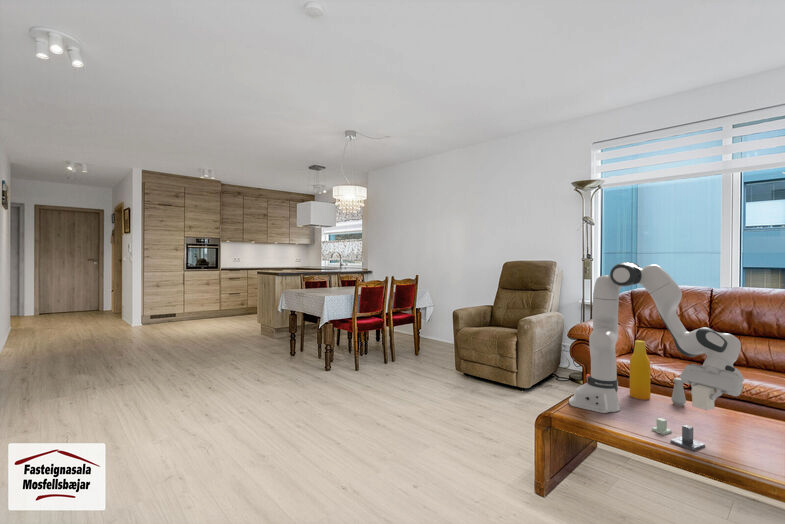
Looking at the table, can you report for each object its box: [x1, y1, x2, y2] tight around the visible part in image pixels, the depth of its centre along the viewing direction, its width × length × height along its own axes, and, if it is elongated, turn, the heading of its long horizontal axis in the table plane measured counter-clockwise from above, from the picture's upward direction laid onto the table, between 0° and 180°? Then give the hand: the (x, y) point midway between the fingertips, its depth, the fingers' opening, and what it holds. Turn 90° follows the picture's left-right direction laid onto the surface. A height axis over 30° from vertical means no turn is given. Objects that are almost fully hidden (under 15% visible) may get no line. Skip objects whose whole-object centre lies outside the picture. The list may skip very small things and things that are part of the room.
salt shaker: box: [671, 377, 687, 407], centre depth 196 cm, size 6×6×13 cm
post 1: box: [651, 417, 672, 436], centre depth 167 cm, size 5×5×5 cm
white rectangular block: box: [691, 384, 715, 411], centre depth 160 cm, size 5×5×8 cm
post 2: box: [670, 424, 706, 452], centre depth 155 cm, size 8×8×7 cm
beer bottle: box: [629, 339, 651, 401], centre depth 207 cm, size 9×9×29 cm
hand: (702, 396), depth 159 cm, fingers closed on white rectangular block, 5 cm apart
